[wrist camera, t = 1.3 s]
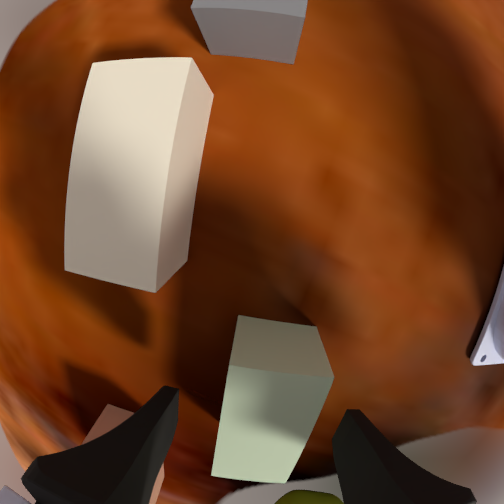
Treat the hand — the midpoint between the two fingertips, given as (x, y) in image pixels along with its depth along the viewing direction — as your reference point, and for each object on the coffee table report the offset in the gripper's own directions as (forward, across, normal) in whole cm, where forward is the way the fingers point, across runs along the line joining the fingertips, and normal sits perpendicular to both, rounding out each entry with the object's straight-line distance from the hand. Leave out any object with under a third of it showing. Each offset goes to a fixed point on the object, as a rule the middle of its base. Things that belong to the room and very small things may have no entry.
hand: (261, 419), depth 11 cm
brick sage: (+3, 0, 0) cm, 3 cm away
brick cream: (+3, +6, -9) cm, 11 cm away
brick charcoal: (+3, +3, -18) cm, 18 cm away
